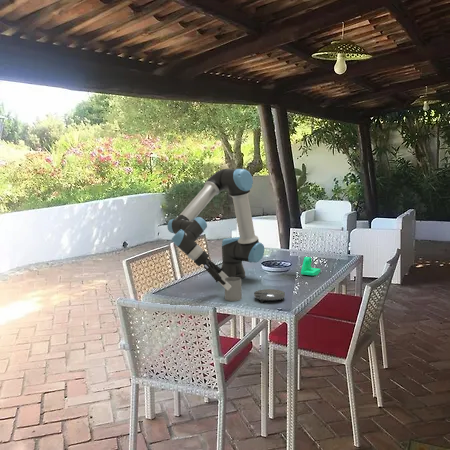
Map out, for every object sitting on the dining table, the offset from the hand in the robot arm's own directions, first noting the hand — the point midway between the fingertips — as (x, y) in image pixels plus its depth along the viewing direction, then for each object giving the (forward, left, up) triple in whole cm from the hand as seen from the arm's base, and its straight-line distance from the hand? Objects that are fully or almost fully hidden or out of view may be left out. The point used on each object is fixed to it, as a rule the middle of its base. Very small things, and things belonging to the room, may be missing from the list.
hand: (229, 284), depth 244 cm
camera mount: (+35, +59, -8) cm, 69 cm away
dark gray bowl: (+19, +3, -7) cm, 21 cm away
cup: (+1, +1, -7) cm, 8 cm away
